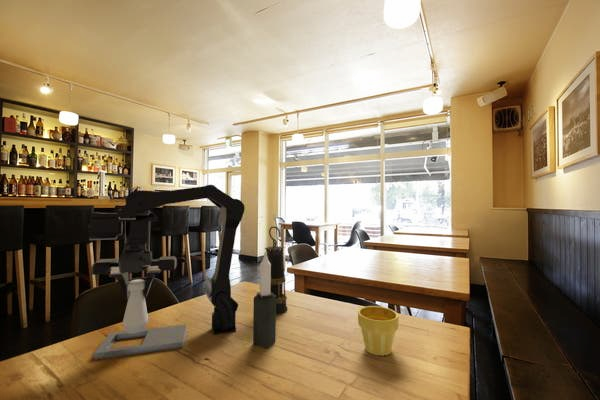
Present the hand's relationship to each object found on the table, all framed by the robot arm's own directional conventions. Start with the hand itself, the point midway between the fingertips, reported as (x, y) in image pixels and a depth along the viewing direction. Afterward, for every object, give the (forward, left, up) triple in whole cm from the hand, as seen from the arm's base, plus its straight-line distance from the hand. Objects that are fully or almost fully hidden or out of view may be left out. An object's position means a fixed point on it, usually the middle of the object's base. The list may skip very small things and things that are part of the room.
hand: (136, 297), depth 74 cm
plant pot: (-61, +19, -13) cm, 65 cm away
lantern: (-41, -15, -13) cm, 45 cm away
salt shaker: (0, 0, -9) cm, 9 cm away
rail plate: (-2, -2, -13) cm, 13 cm away
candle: (-33, +7, -13) cm, 36 cm away
